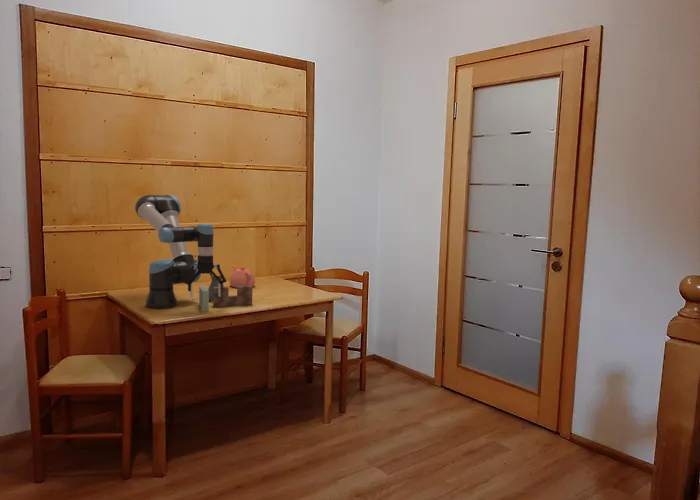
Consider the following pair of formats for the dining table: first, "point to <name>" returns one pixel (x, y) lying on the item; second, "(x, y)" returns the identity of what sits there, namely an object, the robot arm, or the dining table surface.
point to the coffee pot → (213, 284)
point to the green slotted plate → (204, 298)
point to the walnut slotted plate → (232, 297)
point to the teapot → (241, 277)
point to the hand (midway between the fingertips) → (205, 296)
